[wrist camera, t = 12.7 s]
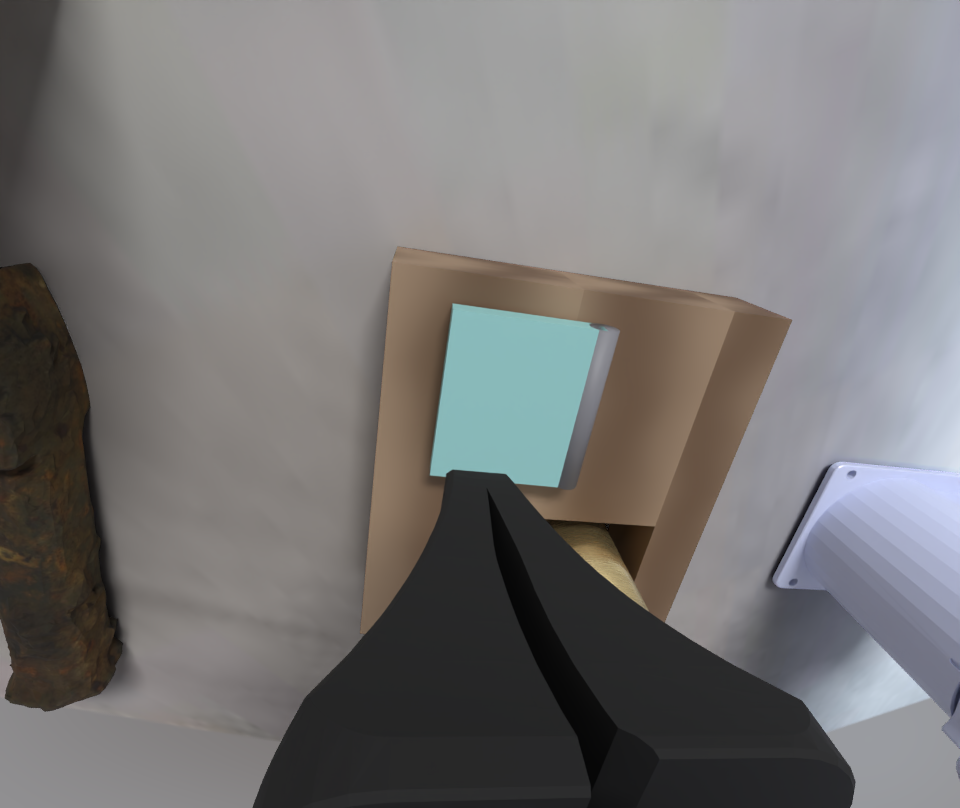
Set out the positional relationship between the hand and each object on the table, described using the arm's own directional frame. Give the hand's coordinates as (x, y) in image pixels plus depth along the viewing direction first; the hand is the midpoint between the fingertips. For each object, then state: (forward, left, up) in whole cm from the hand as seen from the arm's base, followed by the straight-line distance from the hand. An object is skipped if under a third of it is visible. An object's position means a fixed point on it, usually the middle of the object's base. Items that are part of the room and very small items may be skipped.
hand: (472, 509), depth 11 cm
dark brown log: (+16, +8, -11) cm, 21 cm away
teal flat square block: (-2, 0, -7) cm, 7 cm away
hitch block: (-5, +4, -10) cm, 12 cm away
